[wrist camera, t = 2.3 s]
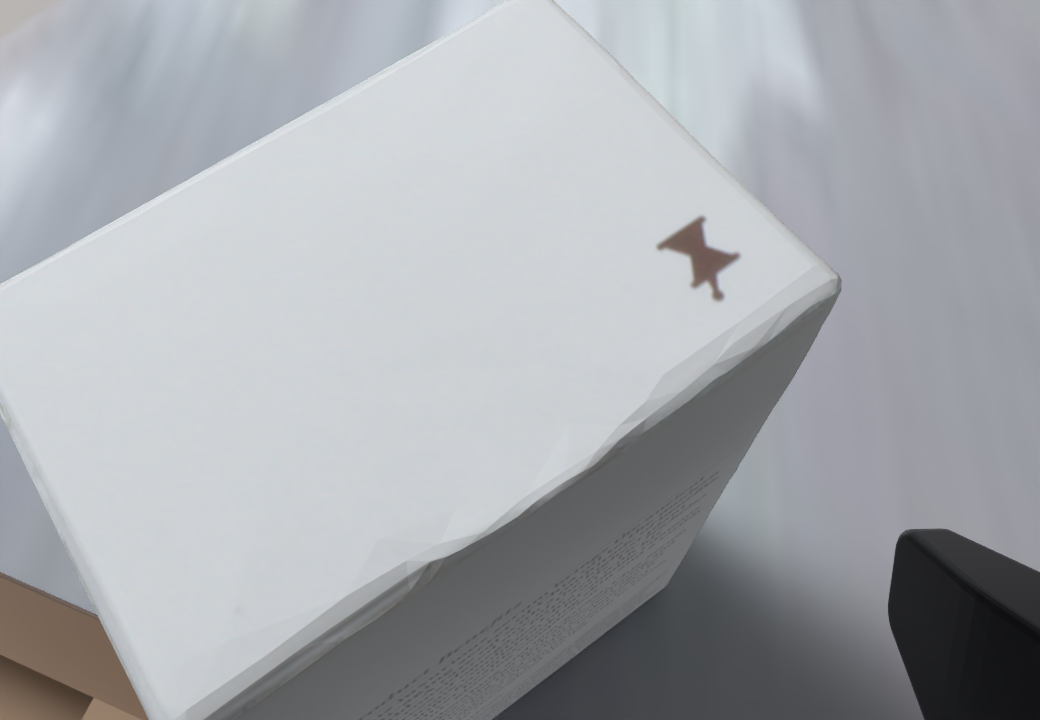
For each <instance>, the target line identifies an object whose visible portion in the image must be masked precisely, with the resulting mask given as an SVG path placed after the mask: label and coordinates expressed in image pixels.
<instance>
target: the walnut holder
mask: <svg viewBox="0 0 1040 720" xmlns="http://www.w3.org/2000/svg"><path fill="white" fill-rule="evenodd" d="M0 720H149V719H148V717H147V715H146V713H145V711H144V709H143V707H142V705H141V703H140V701H139V699H138V696H137V694H136V692H135V690H134V688H133V686H132V684H131V682H130V680H129V678H128V676H127V674H126V672H125V670H124V668H123V666H122V664H121V662H120V660H119V658H118V656H117V654H116V652H115V650H114V648H113V646H112V644H111V642H110V640H109V638H108V636H107V634H106V632H105V630H104V628H103V625H102V623H101V621H100V619H99V617H98V615H96V614H94V613H91V612H89V611H87V610H85V609H82V608H80V607H78V606H76V605H73V604H71V603H69V602H66V601H64V600H62V599H60V598H57V597H55V596H53V595H51V594H48V593H46V592H44V591H42V590H39V589H37V588H35V587H33V586H30V585H28V584H26V583H23V582H21V581H19V580H17V579H14V578H12V577H10V576H8V575H5V574H3V573H1V572H0Z"/></svg>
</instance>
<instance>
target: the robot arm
mask: <svg viewBox="0 0 1040 720" xmlns="http://www.w3.org/2000/svg"><path fill="white" fill-rule="evenodd" d="M888 615H889V622H890V626H891V630H892V633H893V635H894V638H895V641H896V643H897V646H898V649H899V652H900V654H901V657H902V660H903V663H904V665H905V668H906V671H907V673H908V676H909V679H910V682H911V684H912V687H913V690H914V692H915V695H916V698H917V701H918V703H919V706H920V709H921V711H922V714H923V717H924V720H1040V572H1038V571H1036V570H1034V569H1032V568H1030V567H1028V566H1025V565H1023V564H1021V563H1019V562H1017V561H1015V560H1013V559H1010V558H1008V557H1006V556H1004V555H1002V554H1000V553H998V552H995V551H993V550H991V549H989V548H987V547H985V546H982V545H980V544H978V543H976V542H974V541H972V540H970V539H967V538H965V537H963V536H961V535H959V534H957V533H955V532H952V531H950V530H947V529H910V530H906V531H904V532H903V533H902V534H901V535H900V536H899V539H898V541H897V544H896V549H895V557H894V564H893V571H892V579H891V586H890V593H889V601H888Z"/></svg>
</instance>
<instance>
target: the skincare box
mask: <svg viewBox="0 0 1040 720" xmlns="http://www.w3.org/2000/svg"><path fill="white" fill-rule="evenodd" d="M840 292H841V278H840V276H839V275H838V273H836V272H835V271H834V270H833V269H832V268H831V267H830V266H829V265H827V264H826V263H825V262H824V261H823V260H822V259H821V258H820V257H818V256H817V255H816V254H815V253H814V252H813V251H812V250H811V249H810V248H809V247H808V246H807V245H806V244H805V243H803V242H802V241H801V240H800V239H799V238H798V237H797V236H796V235H795V234H794V233H793V232H792V231H791V230H790V229H788V228H787V227H786V226H785V225H784V224H783V223H782V222H781V221H780V220H779V219H778V218H777V217H776V216H775V215H773V214H772V213H771V212H770V211H769V210H768V209H767V208H766V207H765V206H764V205H763V204H762V203H761V202H760V201H759V200H757V199H756V198H755V197H754V196H753V195H752V194H751V193H750V192H749V191H748V190H747V189H746V188H745V187H744V186H743V185H742V184H741V183H740V182H739V181H738V180H737V179H736V178H735V177H734V176H733V175H732V174H731V173H730V172H729V171H728V170H727V169H725V168H724V167H723V166H722V165H721V164H720V163H719V162H718V161H717V160H716V159H715V158H714V157H713V156H712V155H711V154H710V153H709V152H708V151H707V150H706V149H705V148H704V147H703V146H702V145H701V144H700V143H699V142H698V141H697V140H696V139H695V138H694V137H693V136H692V135H691V134H690V133H689V132H688V131H687V130H686V129H685V128H684V127H683V126H682V125H681V124H680V123H679V122H678V121H677V120H676V119H675V118H674V117H673V116H672V115H671V114H670V113H669V112H668V111H667V110H666V109H665V108H664V107H663V106H662V105H661V104H660V103H659V102H658V101H657V100H656V99H655V98H654V97H653V96H652V95H651V94H650V93H649V92H648V91H647V90H646V89H645V88H644V87H643V86H642V85H640V84H639V83H638V82H637V81H636V80H635V79H634V78H633V77H632V75H631V74H630V73H629V72H628V71H627V70H626V69H625V68H624V67H623V66H622V65H621V64H620V63H619V62H618V61H617V60H616V59H615V58H614V57H613V56H612V55H610V54H609V53H608V52H607V51H606V50H605V49H604V48H603V47H602V46H601V45H600V44H599V43H598V42H597V41H596V40H595V39H594V38H593V37H592V36H591V35H590V34H589V33H588V32H587V31H586V30H584V29H583V28H582V27H581V26H580V25H579V24H578V23H577V22H576V21H575V20H574V19H573V18H572V17H570V16H569V15H568V14H567V13H566V12H565V11H564V10H563V9H562V8H561V7H560V6H559V5H557V4H556V3H555V2H554V1H553V0H506V1H504V2H502V3H500V4H499V5H497V6H495V7H494V8H492V9H490V10H489V11H487V12H485V13H483V14H482V15H480V16H478V17H477V18H475V19H473V20H472V21H470V22H468V23H467V24H465V25H463V26H461V27H460V28H458V29H456V30H454V31H453V32H451V33H449V34H447V35H446V36H444V37H442V38H440V39H438V40H436V41H435V42H433V43H431V44H429V45H427V46H426V47H424V48H422V49H420V50H418V51H416V52H415V53H413V54H411V55H409V56H407V57H406V58H404V59H402V60H400V61H398V62H396V63H395V64H393V65H391V66H389V67H388V68H386V69H384V70H382V71H381V72H379V73H377V74H375V75H374V76H372V77H370V78H369V79H367V80H365V81H363V82H362V83H360V84H358V85H356V86H354V87H353V88H351V89H349V90H347V91H345V92H344V93H342V94H340V95H338V96H336V97H335V98H333V99H331V100H329V101H327V102H326V103H324V104H322V105H320V106H318V107H316V108H315V109H313V110H311V111H309V112H308V113H306V114H304V115H302V116H300V117H299V118H297V119H295V120H293V121H291V122H290V123H288V124H286V125H284V126H283V127H281V128H279V129H277V130H275V131H274V132H272V133H270V134H268V135H266V136H265V137H263V138H261V139H259V140H258V141H256V142H254V143H252V144H250V145H249V146H247V147H245V148H243V149H242V150H240V151H238V152H236V153H234V154H233V155H231V156H229V157H227V158H226V159H224V160H222V161H220V162H218V163H217V164H215V165H213V166H211V167H210V168H208V169H206V170H204V171H203V172H201V173H199V174H197V175H196V176H194V177H192V178H190V179H188V180H187V181H185V182H183V183H181V184H180V185H178V186H176V187H174V188H173V189H171V190H169V191H167V192H165V193H164V194H162V195H160V196H158V197H156V198H155V199H153V200H151V201H149V202H147V203H146V204H144V205H142V206H140V207H138V208H137V209H135V210H133V211H131V212H130V213H128V214H126V215H124V216H122V217H120V218H119V219H117V220H115V221H113V222H111V223H110V224H108V225H106V226H104V227H102V228H101V229H99V230H97V231H95V232H93V233H92V234H90V235H88V236H86V237H84V238H83V239H81V240H79V241H77V242H75V243H74V244H72V245H70V246H68V247H67V248H65V249H63V250H61V251H59V252H58V253H56V254H54V255H52V256H51V257H49V258H47V259H45V260H44V261H42V262H40V263H38V264H37V265H35V266H33V267H31V268H29V269H27V270H26V271H24V272H22V273H20V274H18V275H16V276H14V277H13V278H11V279H9V280H7V281H5V282H3V283H1V284H0V414H1V416H2V418H3V420H4V422H5V424H6V426H7V428H8V430H9V433H10V435H11V437H12V439H13V441H14V443H15V445H16V447H17V449H18V451H19V453H20V455H21V458H22V460H23V462H24V464H25V466H26V468H27V470H28V472H29V474H30V476H31V478H32V480H33V482H34V484H35V486H36V488H37V490H38V492H39V494H40V496H41V498H42V501H43V503H44V505H45V507H46V509H47V511H48V513H49V515H50V517H51V519H52V521H53V523H54V525H55V527H56V529H57V531H58V533H59V535H60V537H61V540H62V542H63V544H64V546H65V548H66V550H67V553H68V555H69V557H70V559H71V561H72V563H73V566H74V568H75V570H76V572H77V574H78V576H79V578H80V581H81V583H82V585H83V587H84V589H85V591H86V593H87V595H88V597H89V599H90V601H91V603H92V605H93V607H94V609H95V611H96V613H97V615H98V617H99V619H100V621H101V623H102V625H103V628H104V630H105V632H106V634H107V636H108V638H109V640H110V642H111V644H112V646H113V648H114V650H115V652H116V654H117V656H118V658H119V660H120V662H121V664H122V666H123V668H124V670H125V672H126V674H127V676H128V678H129V680H130V682H131V684H132V686H133V688H134V690H135V692H136V694H137V696H138V699H139V701H140V703H141V705H142V707H143V709H144V711H145V713H146V715H147V717H148V719H149V720H492V719H493V718H495V717H496V716H497V715H499V714H500V713H501V712H502V711H504V710H505V709H506V708H508V707H509V706H510V705H512V704H513V703H514V702H516V701H517V700H518V699H519V698H521V697H522V696H523V695H525V694H526V693H527V692H529V691H530V690H531V689H533V688H534V687H535V686H536V685H538V684H539V683H540V682H542V681H543V680H544V679H546V678H547V677H548V676H550V675H551V674H552V673H554V672H555V671H556V670H558V669H559V668H560V667H561V666H563V665H564V664H565V663H567V662H568V661H569V660H571V659H572V658H573V657H574V656H576V655H577V654H578V653H580V652H581V651H582V650H584V649H585V648H586V647H587V646H589V645H590V644H591V643H593V642H594V641H595V640H597V639H598V638H599V637H600V636H602V635H603V634H604V633H606V632H607V631H608V630H610V629H611V628H612V627H613V626H615V625H616V624H617V623H619V622H620V621H621V620H623V619H624V618H625V617H626V616H628V615H629V614H630V613H632V612H633V611H634V610H636V609H637V608H638V607H640V606H641V605H642V604H643V603H645V602H646V601H647V600H649V599H650V598H651V597H653V596H654V595H655V594H657V593H658V592H659V591H661V590H662V589H663V588H665V587H666V586H667V585H668V583H669V581H670V579H671V578H672V576H673V574H674V573H675V571H676V570H677V568H678V566H679V564H680V563H681V561H682V560H683V558H684V557H685V555H686V553H687V551H688V550H689V548H690V546H691V545H692V543H693V541H694V540H695V538H696V536H697V535H698V533H699V531H700V529H701V527H702V526H703V524H704V522H705V521H706V519H707V517H708V515H709V514H710V512H711V510H712V509H713V507H714V505H715V504H716V502H717V501H718V499H719V497H720V496H721V494H722V492H723V490H724V489H725V487H726V485H727V484H728V482H729V480H730V479H731V477H732V476H733V474H734V473H735V472H736V470H737V468H738V466H739V464H740V463H741V461H742V459H743V458H744V456H745V455H746V453H747V451H748V449H749V448H750V446H751V444H752V443H753V441H754V439H755V437H756V436H757V434H758V433H759V431H760V429H761V428H762V426H763V424H764V423H765V421H766V419H767V418H768V416H769V414H770V413H771V411H772V409H773V408H774V406H775V405H776V403H777V402H778V401H779V399H780V397H781V396H782V394H783V393H784V391H785V390H786V388H787V387H788V385H789V383H790V382H791V380H792V379H793V377H794V375H795V373H796V372H797V370H798V368H799V366H800V365H801V363H802V361H803V360H804V358H805V356H806V355H807V353H808V351H809V349H810V347H811V346H812V344H813V342H814V340H815V338H816V336H817V334H818V332H819V331H820V329H821V327H822V325H823V323H824V322H825V320H826V318H827V317H828V315H829V313H830V312H831V310H832V308H833V306H834V304H835V302H836V300H837V298H838V296H839V294H840Z"/></svg>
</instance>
